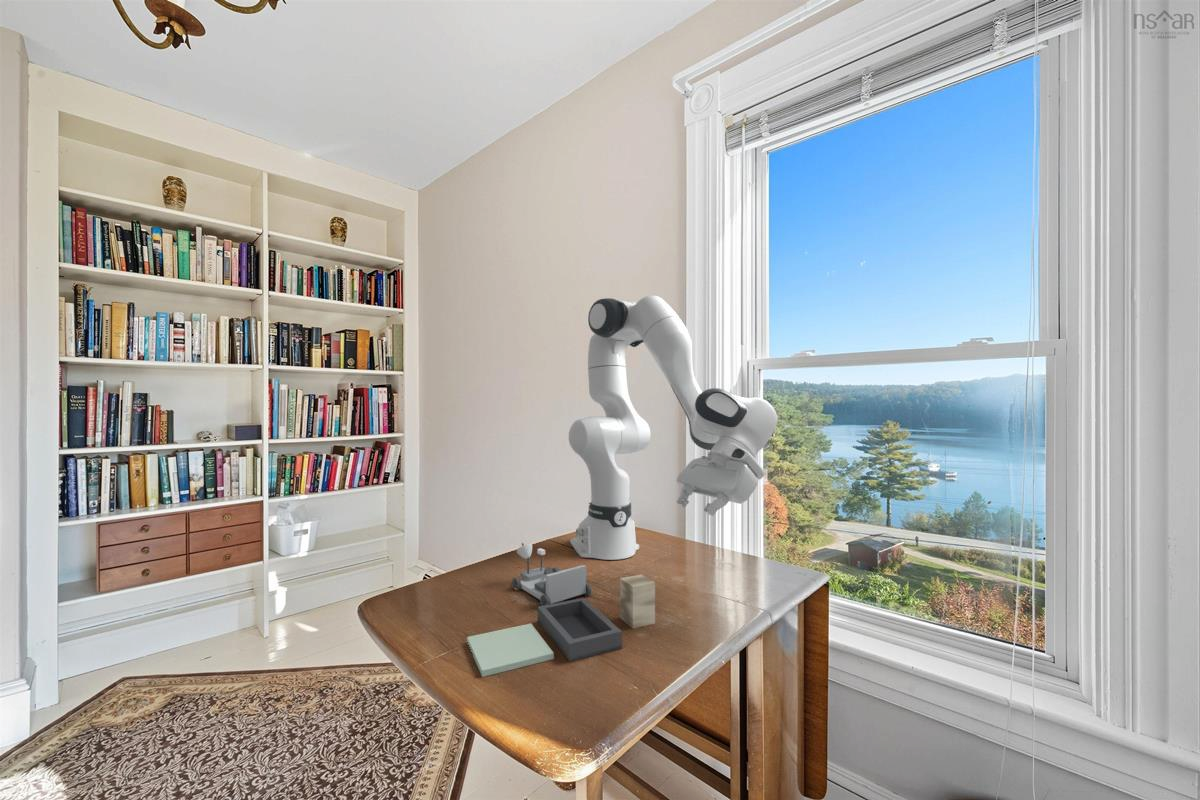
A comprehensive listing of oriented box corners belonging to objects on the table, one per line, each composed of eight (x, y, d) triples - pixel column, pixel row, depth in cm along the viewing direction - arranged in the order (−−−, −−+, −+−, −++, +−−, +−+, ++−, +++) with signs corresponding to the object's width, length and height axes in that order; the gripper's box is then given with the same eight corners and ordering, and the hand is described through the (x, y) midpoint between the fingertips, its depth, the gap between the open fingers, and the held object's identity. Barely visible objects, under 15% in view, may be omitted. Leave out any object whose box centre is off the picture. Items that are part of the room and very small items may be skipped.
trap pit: (537, 622, 94) (537, 606, 94) (583, 612, 99) (583, 597, 99) (569, 661, 80) (569, 643, 80) (621, 648, 85) (621, 631, 85)
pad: (467, 642, 86) (467, 637, 86) (531, 628, 92) (531, 623, 92) (482, 677, 76) (482, 670, 76) (553, 658, 81) (553, 653, 81)
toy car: (506, 544, 114) (548, 535, 121) (506, 585, 114) (548, 574, 121) (547, 564, 100) (591, 553, 107) (547, 612, 100) (591, 597, 107)
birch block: (620, 618, 96) (620, 578, 96) (641, 613, 99) (641, 574, 99) (632, 628, 92) (633, 586, 92) (654, 623, 94) (655, 582, 94)
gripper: (691, 447, 114) (657, 491, 110) (754, 453, 96) (716, 508, 91) (706, 464, 116) (673, 509, 111) (771, 474, 98) (735, 528, 93)
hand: (693, 509), depth 101 cm, fingers open, 8 cm apart
